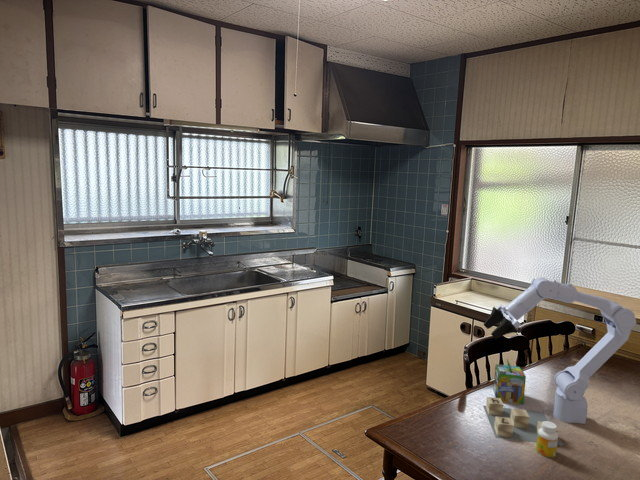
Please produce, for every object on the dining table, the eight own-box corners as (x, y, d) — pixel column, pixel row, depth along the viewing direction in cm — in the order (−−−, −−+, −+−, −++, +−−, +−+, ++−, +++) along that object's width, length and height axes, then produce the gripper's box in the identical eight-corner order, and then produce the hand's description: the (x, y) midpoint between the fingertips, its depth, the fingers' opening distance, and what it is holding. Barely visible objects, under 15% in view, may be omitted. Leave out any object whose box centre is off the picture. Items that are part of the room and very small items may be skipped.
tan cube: (551, 434, 147) (553, 422, 146) (556, 442, 143) (558, 430, 142) (536, 432, 148) (538, 420, 147) (541, 440, 143) (542, 428, 143)
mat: (542, 414, 161) (542, 411, 161) (563, 448, 141) (564, 445, 141) (482, 408, 164) (482, 405, 164) (495, 440, 144) (495, 437, 144)
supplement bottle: (531, 449, 140) (535, 419, 139) (548, 449, 141) (552, 419, 139) (541, 460, 135) (545, 429, 134) (559, 460, 136) (563, 429, 134)
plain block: (524, 421, 154) (525, 409, 154) (528, 428, 150) (529, 416, 149) (510, 419, 155) (511, 408, 154) (513, 426, 151) (514, 415, 150)
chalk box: (523, 407, 166) (527, 368, 163) (496, 403, 167) (500, 364, 165) (517, 395, 175) (522, 357, 172) (492, 391, 176) (496, 354, 174)
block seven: (508, 429, 149) (510, 417, 148) (512, 437, 144) (513, 425, 144) (494, 427, 150) (495, 416, 149) (497, 435, 145) (498, 423, 144)
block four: (499, 409, 162) (500, 398, 161) (502, 415, 157) (503, 404, 157) (485, 407, 162) (487, 396, 162) (488, 414, 158) (489, 403, 157)
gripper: (505, 289, 160) (474, 315, 163) (522, 305, 146) (488, 332, 148) (518, 303, 161) (487, 328, 164) (536, 320, 147) (502, 347, 150)
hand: (489, 331), depth 156 cm, fingers open, 7 cm apart
